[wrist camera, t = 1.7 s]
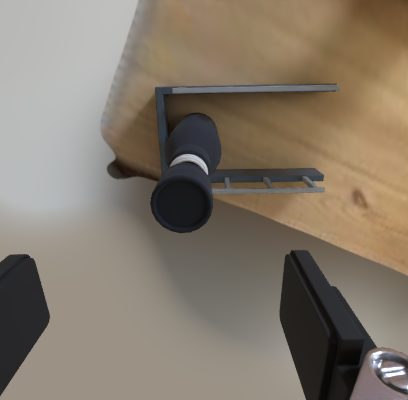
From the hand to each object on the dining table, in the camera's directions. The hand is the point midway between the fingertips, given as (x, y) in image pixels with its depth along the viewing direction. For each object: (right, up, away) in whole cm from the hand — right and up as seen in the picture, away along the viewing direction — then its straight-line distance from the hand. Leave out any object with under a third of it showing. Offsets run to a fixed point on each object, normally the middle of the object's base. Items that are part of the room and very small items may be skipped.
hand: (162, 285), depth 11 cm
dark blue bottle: (0, +14, +35) cm, 38 cm away
